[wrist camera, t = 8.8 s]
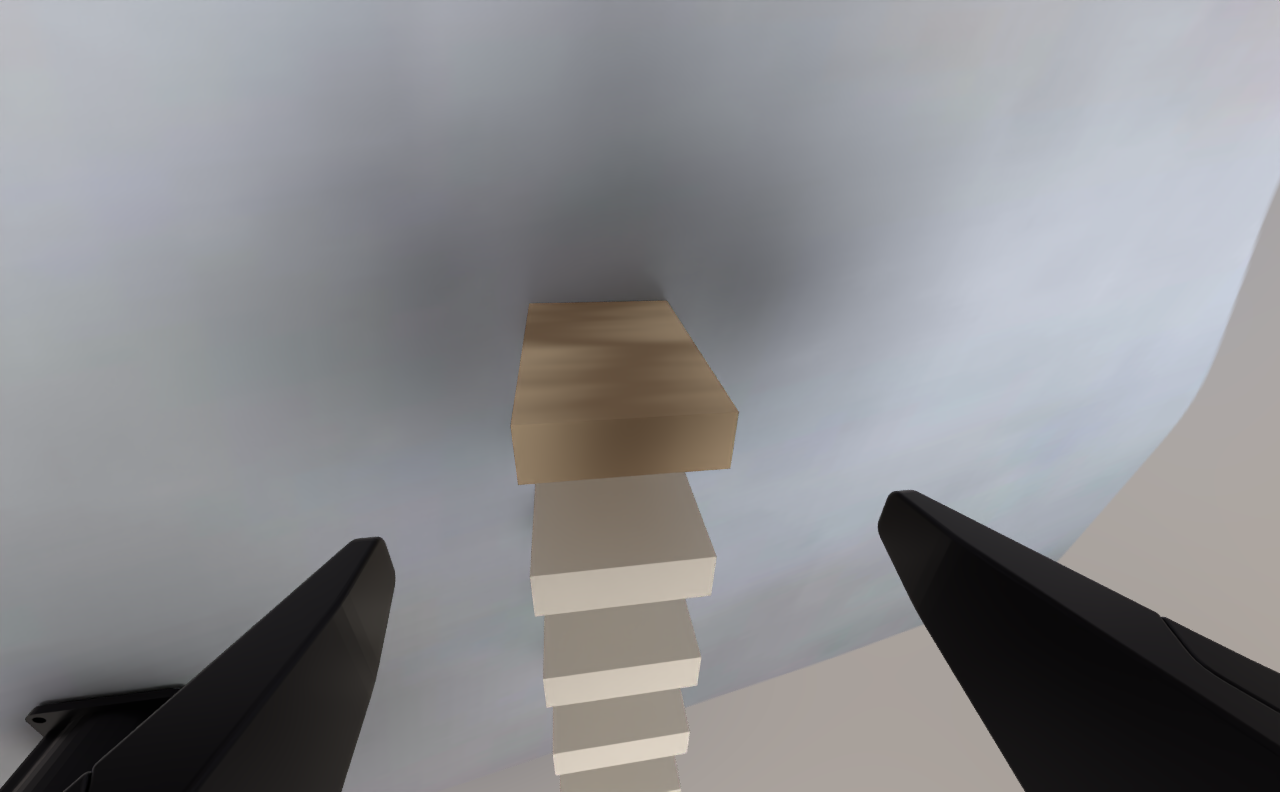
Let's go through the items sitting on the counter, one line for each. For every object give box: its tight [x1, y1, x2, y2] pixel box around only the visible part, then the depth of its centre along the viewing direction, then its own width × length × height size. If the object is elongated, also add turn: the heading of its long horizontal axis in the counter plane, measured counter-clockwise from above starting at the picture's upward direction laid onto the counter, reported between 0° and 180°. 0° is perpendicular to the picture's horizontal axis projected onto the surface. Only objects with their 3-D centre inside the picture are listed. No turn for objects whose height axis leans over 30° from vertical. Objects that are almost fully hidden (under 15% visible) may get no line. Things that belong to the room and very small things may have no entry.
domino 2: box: [543, 599, 701, 708], centre depth 19 cm, size 5×2×8 cm, turn 89°
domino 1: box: [530, 472, 717, 616], centre depth 16 cm, size 5×2×8 cm, turn 88°
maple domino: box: [510, 301, 739, 485], centre depth 14 cm, size 5×2×8 cm, turn 88°
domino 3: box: [553, 688, 690, 775], centre depth 21 cm, size 5×2×8 cm, turn 88°
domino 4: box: [560, 755, 681, 792], centre depth 23 cm, size 5×2×8 cm, turn 88°
